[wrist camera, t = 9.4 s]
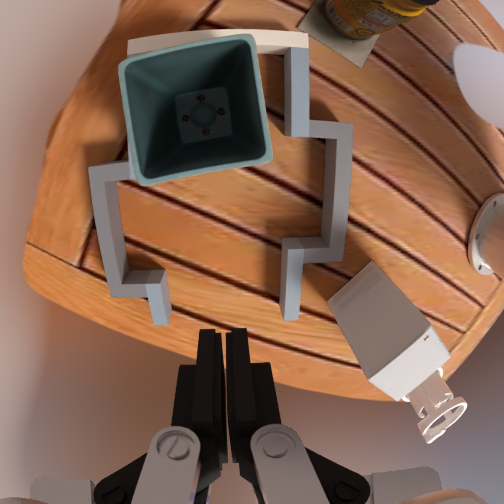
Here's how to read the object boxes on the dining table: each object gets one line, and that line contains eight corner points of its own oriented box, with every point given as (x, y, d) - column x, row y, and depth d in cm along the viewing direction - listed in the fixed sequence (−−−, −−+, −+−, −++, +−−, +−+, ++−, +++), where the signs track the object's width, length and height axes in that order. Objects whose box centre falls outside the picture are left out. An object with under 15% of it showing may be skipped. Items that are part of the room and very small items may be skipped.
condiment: (389, 16, 20) (459, -16, 9) (360, 69, 23) (435, 45, 12) (331, -22, 18) (382, -77, 8) (296, 29, 21) (342, -26, 10)
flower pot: (149, 80, 22) (115, 60, 14) (244, 62, 22) (254, 31, 14) (164, 169, 26) (137, 188, 17) (258, 152, 26) (274, 163, 18)
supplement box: (323, 301, 33) (365, 380, 21) (372, 258, 31) (434, 322, 20) (356, 331, 35) (396, 404, 24) (399, 293, 34) (453, 357, 22)
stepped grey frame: (339, 47, 22) (351, 40, 19) (325, 301, 33) (334, 316, 30) (99, 56, 20) (86, 49, 17) (126, 309, 31) (119, 325, 28)
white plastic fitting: (376, 365, 39) (417, 443, 25) (409, 332, 37) (461, 406, 23) (399, 376, 41) (437, 444, 27) (429, 346, 39) (476, 411, 25)
